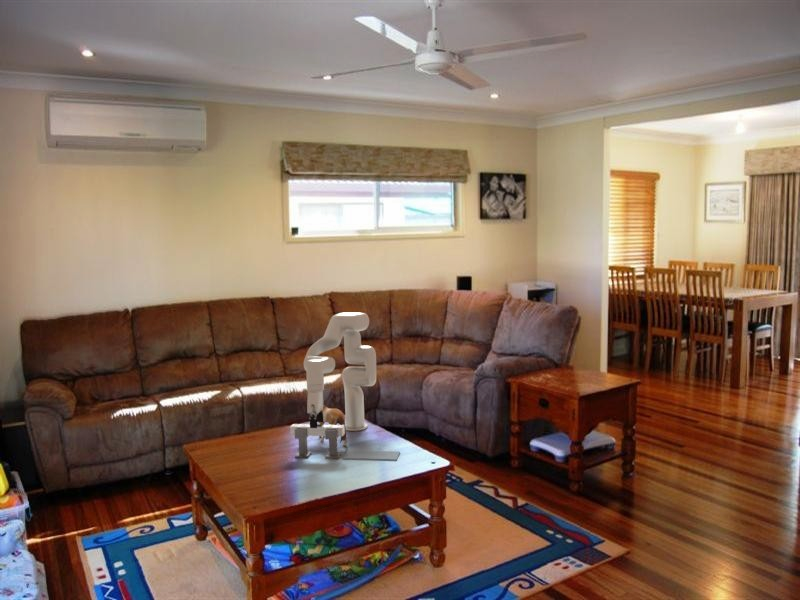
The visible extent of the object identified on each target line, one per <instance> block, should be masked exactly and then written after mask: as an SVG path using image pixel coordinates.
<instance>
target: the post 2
mask: <svg viewBox="0 0 800 600" xmlns="http://www.w3.org/2000/svg"><path fill="white" fill-rule="evenodd" d="M339 437H340V436H337V430H325V438H324V440H328V449H329V450H328V452H327V454H326V455H325V459H326V460H327V459H328V460H330V459H331V460H333V459H334V460H339V459H340V458H341V456H342V455H343V452H342V451H339V450H338V438H339Z"/></svg>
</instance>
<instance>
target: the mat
mask: <svg viewBox="0 0 800 600" xmlns="http://www.w3.org/2000/svg"><path fill="white" fill-rule="evenodd" d="M400 454H401V451H396V450H395V451H392V450H385V451H384V450H357V449H356V450H349V449H348V450H347V451H346V452H345V454H344V455H343V456H342V460H361V461H362V460H365V461H366V460H367V461H392V460H393V461H397V460H398V458H399V456H400Z"/></svg>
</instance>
